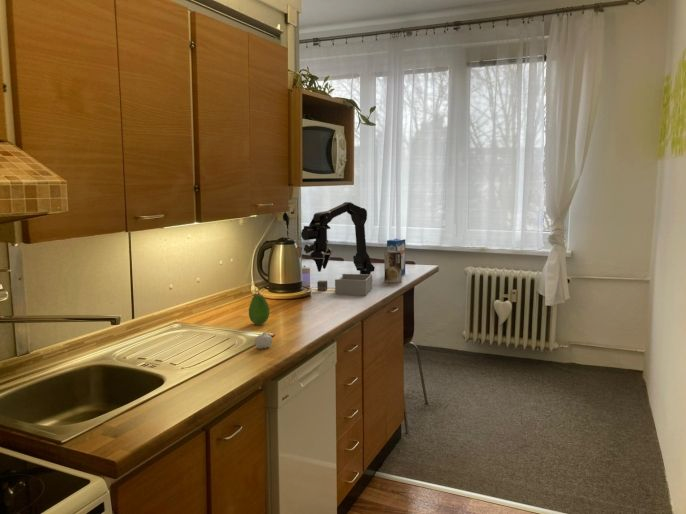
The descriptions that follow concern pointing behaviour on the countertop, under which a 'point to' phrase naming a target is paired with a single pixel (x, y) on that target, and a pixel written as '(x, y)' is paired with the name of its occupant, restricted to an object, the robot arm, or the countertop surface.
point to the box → (353, 284)
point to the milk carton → (398, 246)
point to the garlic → (263, 341)
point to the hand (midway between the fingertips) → (321, 270)
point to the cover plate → (329, 291)
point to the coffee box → (392, 266)
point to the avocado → (258, 310)
